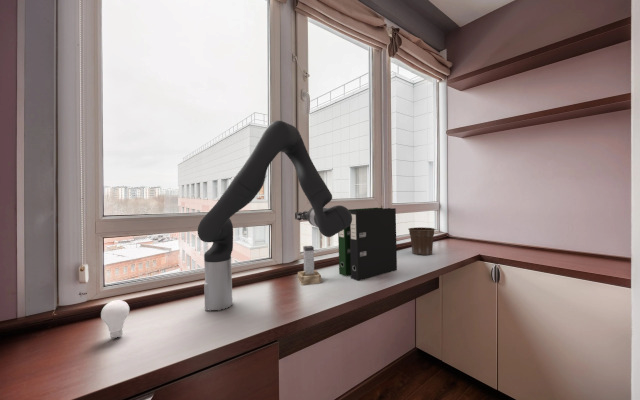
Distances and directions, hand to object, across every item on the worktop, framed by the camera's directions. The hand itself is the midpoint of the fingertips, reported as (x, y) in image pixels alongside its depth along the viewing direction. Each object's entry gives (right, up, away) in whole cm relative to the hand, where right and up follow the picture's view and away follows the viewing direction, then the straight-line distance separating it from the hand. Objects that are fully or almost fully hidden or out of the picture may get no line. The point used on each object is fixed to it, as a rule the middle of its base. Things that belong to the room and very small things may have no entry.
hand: (309, 214), depth 114 cm
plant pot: (+70, -29, +65) cm, 100 cm away
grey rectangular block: (-1, -31, +14) cm, 34 cm away
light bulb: (-55, -34, -34) cm, 73 cm away
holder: (-1, -32, +14) cm, 35 cm away
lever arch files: (+29, -31, +25) cm, 50 cm away
